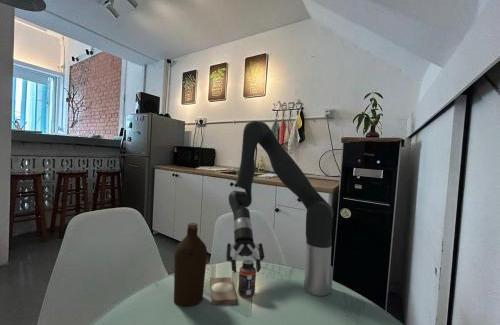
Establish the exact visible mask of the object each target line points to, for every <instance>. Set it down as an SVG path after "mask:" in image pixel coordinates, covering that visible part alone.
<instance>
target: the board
mask: <svg viewBox="0 0 500 325" xmlns="http://www.w3.org/2000/svg"><path fill="white" fill-rule="evenodd" d="M209 286H210V300H211V306H220V305H221V306H222V305H225V306H226V305H236V304H237V300H238V298H237V294H236V291H235V288H234V284H233V281H232V277H229V276H228V277H225V276H224V277H210V278H209Z"/></svg>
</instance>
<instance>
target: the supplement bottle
mask: <svg viewBox="0 0 500 325" xmlns="http://www.w3.org/2000/svg"><path fill="white" fill-rule="evenodd" d="M256 276H257V271H256V266H255V262H254V261H253V260H251V259H244V260H243V261H242V266H240V268H239V274H238V293H237V294H238V295H240V297H243V298H251V297H253V296H254V295H255V292H256V280H257V278H256Z"/></svg>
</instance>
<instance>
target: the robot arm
mask: <svg viewBox="0 0 500 325" xmlns="http://www.w3.org/2000/svg"><path fill="white" fill-rule="evenodd" d="M242 133H243V134H242V145H241V146H242V147H241V149H242V150H241V159H240V165H239V170H238V174H237V179H236V186H237V187H238V188H240V189H243V190H244V191H241V190H240V191H239V190H232V191H231V192H230V193H229V195H228V204H229V207H230V209H231V212H232V214H233V234H234V235H233V236H234V237H233V238H234V244H231V243H227V246H226V255H225V256H226V257H225V258H226V261H227V262H230V263H231V271H232V272H233V273H237V259H238V258H239V256H240V257H251V258H252V259H253V260H254V261H255V269H256V273H260V270H261V268H262V267H261V261H264V259H265V257H266V256H265V253H264V252H265V251H264V248H263V244H262V242H260V243H259V244H256V243H255V242H254V234H253V226H252V221H251V214H250V213H251V212H250V210H249V209H248V208H249V207H250V206H251V205H252V201H253V194H252V188H253V187H252V185H253V181H254V178H255V171H256V163H255V154H256V153H255V152H256V149H257V146H258V144H259V145H260V146H261V148H263V149H262V150H264V152H265V153H266V155H267V156H268V158H269V163H270V165H271V169H272V170H273V172H274V174H275V175H276V177H278V179H279V180H280V181H281V183H282V184H284V186H285V187H286V188H287V189H288V190H290V191H291V193H293V194H294V195H295V196H296V197H297V198H298V199H299V200H300V201H301V203H302V204H303V205H304V208H305V209H306V213H305V238H306V239H305V240H306V241H305V262H304V279H303V281H304V282H303V285H304V287H303V289H304V290H305V292H307V293H309V295H313V296H320V297H321V296H322V297H323V296H327V295H329V294H332V292H333V275H334V274H333V272H334V271H333V270H334V267H333V266H332V265H331V264H332V263H331V262H332V240H333V239H332V227H333V218H334V217H333V216H334V210H333V207H332V206H331V205H330V204H329V203H328V202H327V200H325V199H324V198H323V196H321V194H320V193H319V192H318V191H317V190H316V189H315V188H314V187H313V184H311V182H310V180H309V179H308V178H307V176H306V174H305V173H304V172H303V170H302V169H301V167H300V166H299V165H298V164H297V162H296V161H295V160H294V159H293V158H292V157H291V156H290V154H289V152H287V151H286V149H285V148H284V147H283V145H282V144H281V143H280V142H279V140H278V139H277V138H276V136H275V134H274V132H273V131H272V129H271V128H270V126H269V125H268V124H267V123H265V122H264V121H257V120H250V121H248V122H247V123H246V124H245V125H244V128H243V132H242ZM233 249H234V251H235V252H234V254H233V256H231V251H233ZM255 249H256V250H257V251H258V253H257V251H256V250H255Z"/></svg>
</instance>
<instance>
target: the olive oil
mask: <svg viewBox="0 0 500 325" xmlns="http://www.w3.org/2000/svg"><path fill="white" fill-rule="evenodd" d="M175 247H176V248H175V250H174V259H173V260H174V263H173V264H174V265H173V266H174V272H173V273H174V274H173V276H174V278H173V280H174V281H173V282H174V284H173V303H174V304H175V305H177V306H178V307H182V308H190V307H195V306H198V305H199V304H201V303H202V301H203V300H204V288H205V278H206V277H205V276H206V269H207V268H206V266H207V261H208V260H207V259H208V250H207V246H206V244H205V243H204V241H203V240H202V239H201V238H200V236H199V235H198V223H197V222H195V223H194V222H189V223H188V224H187V229H186V235H185V237H184V238H183V239H182V240H181V241H180V242H179V243H178V244H177V246H175Z"/></svg>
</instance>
